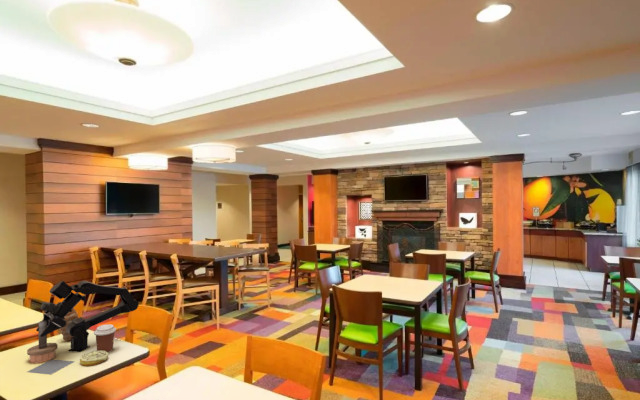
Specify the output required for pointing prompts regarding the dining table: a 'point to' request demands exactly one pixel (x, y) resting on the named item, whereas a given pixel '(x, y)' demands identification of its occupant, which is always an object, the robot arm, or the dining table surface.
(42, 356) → the bowl
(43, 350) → the lid
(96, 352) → the decorated donut
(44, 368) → the mat
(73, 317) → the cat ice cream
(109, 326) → the coffee cup
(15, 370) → the dining table surface
